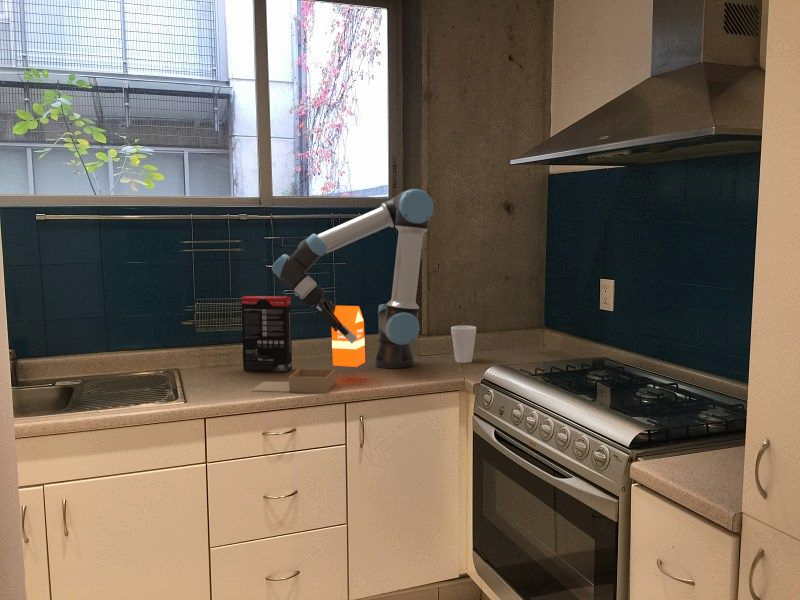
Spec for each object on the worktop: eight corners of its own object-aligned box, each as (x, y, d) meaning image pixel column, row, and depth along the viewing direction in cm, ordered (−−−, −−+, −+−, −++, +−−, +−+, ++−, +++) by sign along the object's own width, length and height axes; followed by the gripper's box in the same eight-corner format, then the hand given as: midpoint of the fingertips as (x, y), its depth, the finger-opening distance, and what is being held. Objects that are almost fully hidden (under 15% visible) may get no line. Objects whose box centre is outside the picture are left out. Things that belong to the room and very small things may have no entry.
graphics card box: (293, 368, 255) (291, 295, 252) (288, 372, 248) (286, 297, 245) (248, 368, 257) (245, 295, 254) (242, 372, 250) (239, 297, 247)
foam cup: (480, 360, 266) (480, 326, 264) (469, 364, 258) (469, 330, 257) (458, 357, 271) (458, 324, 269) (446, 361, 263) (446, 328, 262)
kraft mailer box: (335, 384, 230) (335, 369, 230) (327, 392, 219) (326, 377, 218) (264, 382, 233) (263, 368, 233) (252, 391, 222) (251, 376, 221)
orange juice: (356, 366, 232) (354, 307, 229) (332, 365, 235) (330, 307, 233) (365, 362, 239) (363, 304, 237) (342, 360, 242) (340, 304, 240)
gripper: (310, 296, 247) (356, 340, 247) (293, 304, 226) (343, 352, 226) (324, 281, 246) (370, 325, 246) (309, 287, 224) (359, 336, 224)
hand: (357, 338), depth 236 cm, fingers closed on orange juice, 9 cm apart
